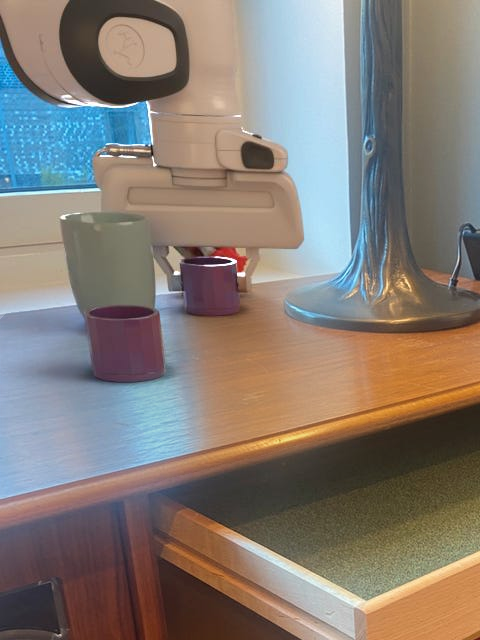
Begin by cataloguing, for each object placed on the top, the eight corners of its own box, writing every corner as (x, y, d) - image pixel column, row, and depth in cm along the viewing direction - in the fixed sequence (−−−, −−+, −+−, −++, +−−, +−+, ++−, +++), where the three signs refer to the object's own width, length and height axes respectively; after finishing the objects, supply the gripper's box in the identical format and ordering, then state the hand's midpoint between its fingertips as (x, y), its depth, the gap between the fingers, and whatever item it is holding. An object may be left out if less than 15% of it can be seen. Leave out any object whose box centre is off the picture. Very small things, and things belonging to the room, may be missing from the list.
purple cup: (182, 315, 101) (177, 265, 98) (187, 304, 106) (182, 256, 103) (238, 316, 102) (234, 266, 99) (241, 304, 107) (237, 257, 104)
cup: (176, 326, 96) (165, 218, 91) (113, 339, 91) (97, 225, 86) (124, 314, 100) (110, 210, 95) (60, 326, 94) (41, 216, 89)
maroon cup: (88, 382, 78) (77, 319, 76) (100, 363, 83) (91, 304, 81) (161, 382, 79) (154, 320, 77) (169, 364, 84) (162, 305, 82)
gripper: (83, 144, 91) (104, 295, 98) (300, 153, 95) (306, 298, 102) (94, 140, 97) (114, 283, 104) (300, 148, 100) (306, 287, 107)
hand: (211, 291), depth 103 cm, fingers closed on purple cup, 6 cm apart
